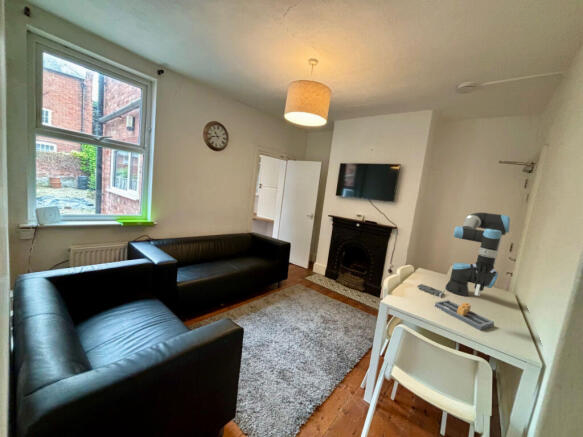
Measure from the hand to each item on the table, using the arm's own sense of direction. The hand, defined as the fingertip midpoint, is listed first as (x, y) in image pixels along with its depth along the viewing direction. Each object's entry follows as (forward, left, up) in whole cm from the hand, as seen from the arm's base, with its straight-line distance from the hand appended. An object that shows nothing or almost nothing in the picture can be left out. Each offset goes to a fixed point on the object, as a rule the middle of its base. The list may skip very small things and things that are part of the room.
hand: (477, 295), depth 133 cm
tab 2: (-6, -7, -15) cm, 18 cm away
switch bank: (-3, -6, -17) cm, 19 cm away
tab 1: (+1, -5, -15) cm, 16 cm away
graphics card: (-19, -37, -18) cm, 45 cm away
